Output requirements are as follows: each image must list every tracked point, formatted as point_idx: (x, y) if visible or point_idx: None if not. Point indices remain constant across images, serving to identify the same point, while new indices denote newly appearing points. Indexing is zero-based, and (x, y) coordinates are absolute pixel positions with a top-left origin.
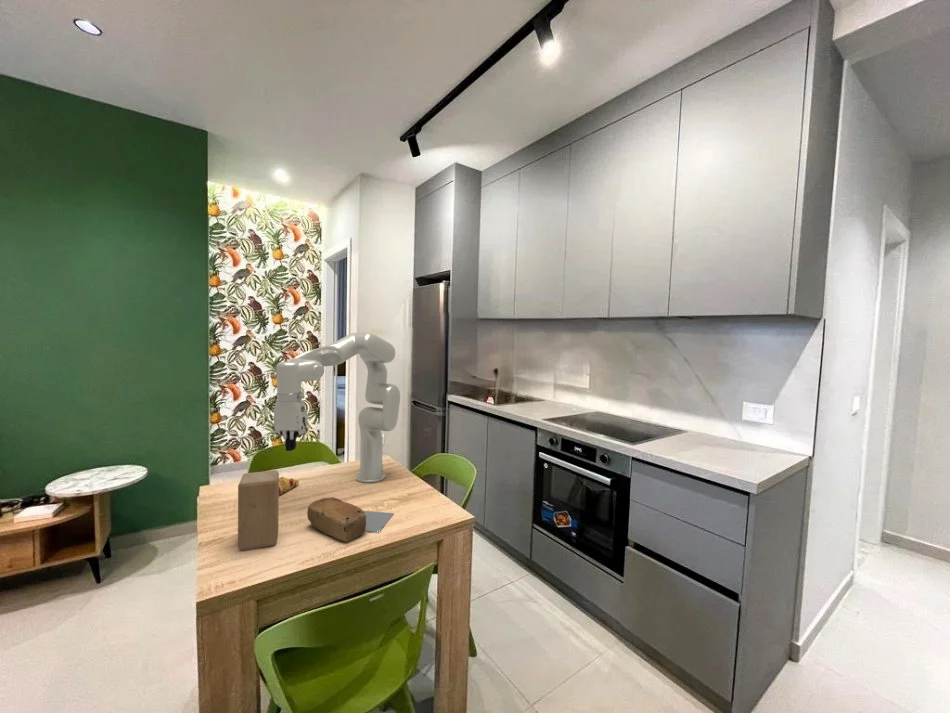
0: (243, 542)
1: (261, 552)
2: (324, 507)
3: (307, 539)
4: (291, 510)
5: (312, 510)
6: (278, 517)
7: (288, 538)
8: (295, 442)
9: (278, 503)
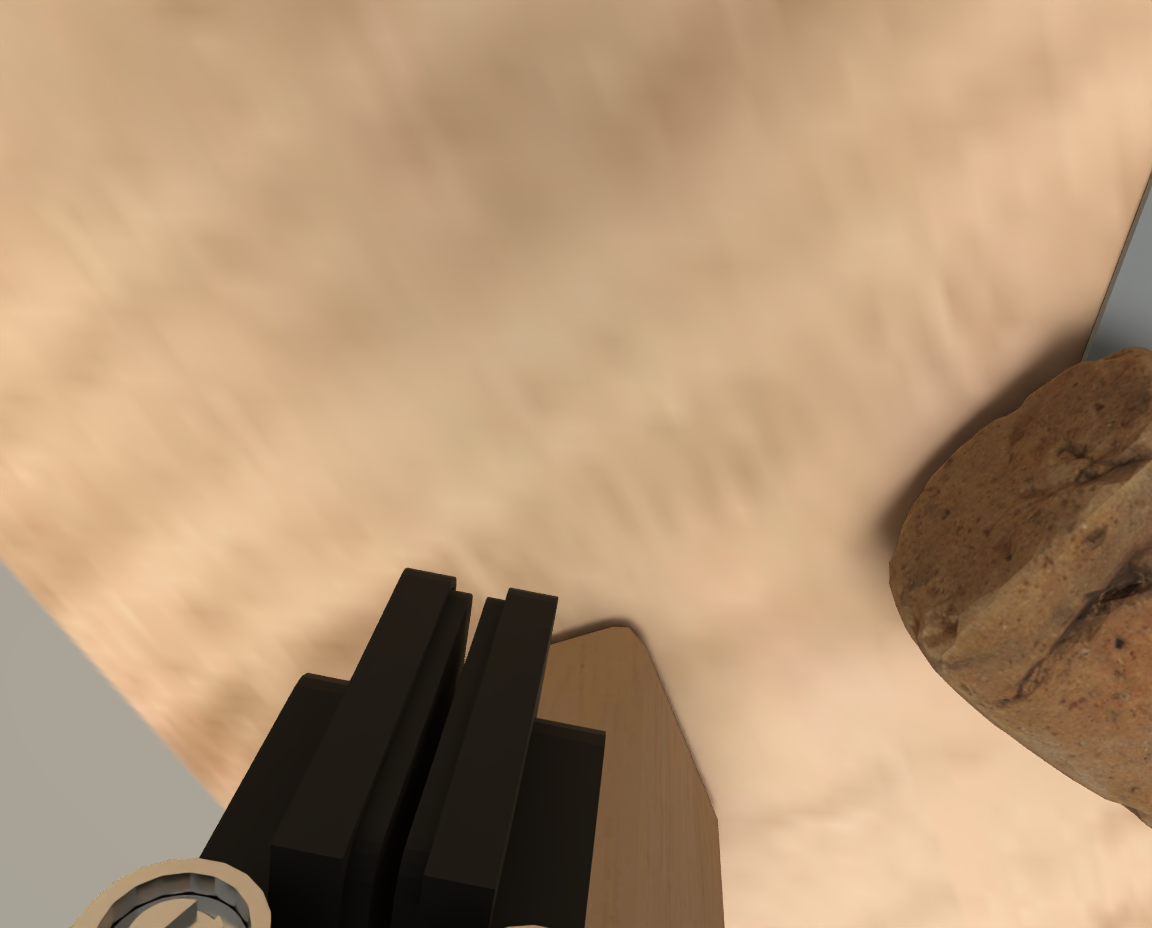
0: None
1: None
2: (1147, 765)
3: (935, 744)
4: (572, 165)
5: (992, 722)
6: (643, 714)
7: (772, 724)
8: (587, 856)
9: (647, 835)
